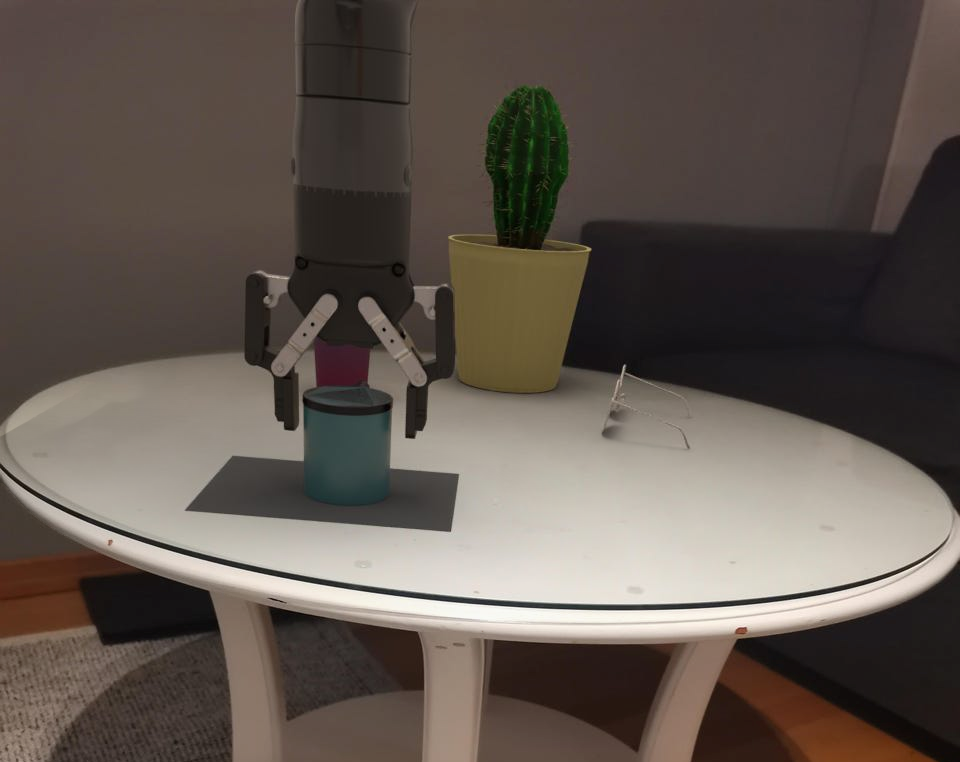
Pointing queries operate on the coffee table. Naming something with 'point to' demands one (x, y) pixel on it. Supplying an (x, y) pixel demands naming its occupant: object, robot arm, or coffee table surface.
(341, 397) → the pot
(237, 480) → the cloth
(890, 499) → the coffee table surface
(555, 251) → the potted cactus
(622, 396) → the sunglasses
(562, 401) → the coffee table surface
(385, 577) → the coffee table surface
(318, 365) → the cup
